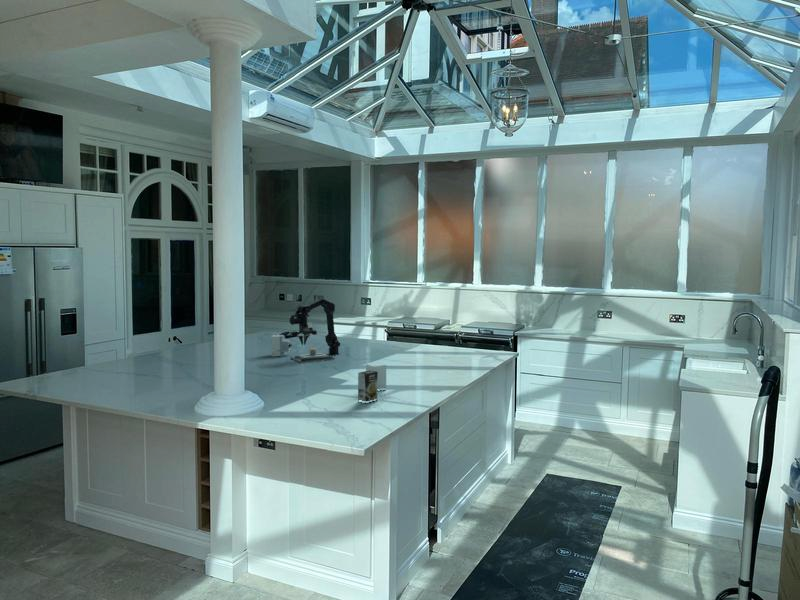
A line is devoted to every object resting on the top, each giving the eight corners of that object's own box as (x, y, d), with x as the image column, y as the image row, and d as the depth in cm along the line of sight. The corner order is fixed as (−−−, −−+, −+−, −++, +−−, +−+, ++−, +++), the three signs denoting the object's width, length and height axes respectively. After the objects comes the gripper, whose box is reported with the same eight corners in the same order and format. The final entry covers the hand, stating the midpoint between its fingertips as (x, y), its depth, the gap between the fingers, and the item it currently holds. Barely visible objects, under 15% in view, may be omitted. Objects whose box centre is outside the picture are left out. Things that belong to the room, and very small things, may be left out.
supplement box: (386, 390, 364) (386, 364, 363) (373, 392, 360) (373, 366, 358) (378, 387, 372) (378, 362, 370) (365, 389, 367) (365, 363, 366)
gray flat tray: (323, 354, 470) (323, 352, 469) (330, 357, 457) (330, 356, 457) (294, 357, 458) (294, 355, 458) (301, 360, 446) (301, 358, 446)
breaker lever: (314, 356, 460) (314, 347, 459) (315, 357, 457) (315, 348, 457) (309, 357, 458) (309, 348, 458) (311, 357, 456) (311, 348, 455)
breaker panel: (324, 355, 473) (324, 351, 473) (334, 359, 456) (334, 355, 455) (291, 358, 460) (290, 354, 460) (300, 363, 443) (300, 358, 443)
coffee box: (366, 404, 334) (366, 374, 333) (357, 402, 338) (357, 372, 337) (378, 400, 341) (378, 371, 339) (369, 398, 345) (369, 369, 344)
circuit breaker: (290, 356, 467) (290, 336, 466) (271, 356, 468) (270, 336, 466) (292, 354, 475) (292, 335, 473) (273, 354, 475) (273, 334, 474)
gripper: (294, 325, 440) (295, 347, 442) (319, 323, 450) (319, 345, 451) (289, 323, 450) (289, 345, 451) (313, 322, 459) (314, 343, 461)
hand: (303, 344), depth 453 cm, fingers closed
